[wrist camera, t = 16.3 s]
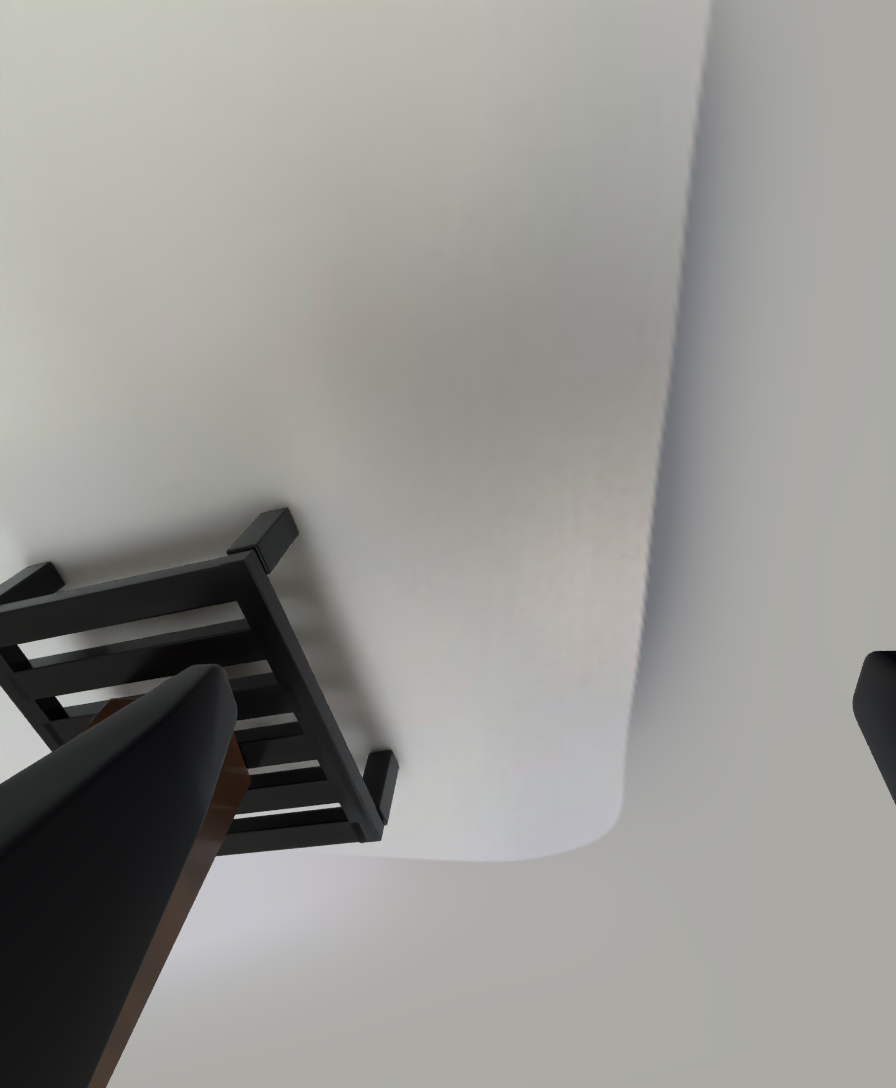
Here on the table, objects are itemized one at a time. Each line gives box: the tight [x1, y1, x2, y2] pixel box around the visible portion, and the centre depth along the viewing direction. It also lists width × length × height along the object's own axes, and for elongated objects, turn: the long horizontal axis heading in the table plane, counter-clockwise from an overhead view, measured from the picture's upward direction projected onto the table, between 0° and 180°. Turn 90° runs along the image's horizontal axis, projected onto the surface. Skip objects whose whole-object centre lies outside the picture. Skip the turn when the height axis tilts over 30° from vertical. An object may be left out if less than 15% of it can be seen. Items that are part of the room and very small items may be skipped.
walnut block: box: [78, 698, 251, 1088], centre depth 18 cm, size 4×4×10 cm
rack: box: [0, 508, 399, 856], centre depth 24 cm, size 14×12×4 cm
